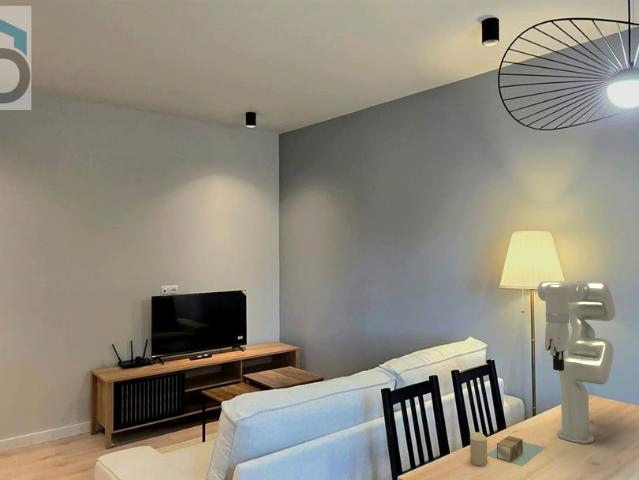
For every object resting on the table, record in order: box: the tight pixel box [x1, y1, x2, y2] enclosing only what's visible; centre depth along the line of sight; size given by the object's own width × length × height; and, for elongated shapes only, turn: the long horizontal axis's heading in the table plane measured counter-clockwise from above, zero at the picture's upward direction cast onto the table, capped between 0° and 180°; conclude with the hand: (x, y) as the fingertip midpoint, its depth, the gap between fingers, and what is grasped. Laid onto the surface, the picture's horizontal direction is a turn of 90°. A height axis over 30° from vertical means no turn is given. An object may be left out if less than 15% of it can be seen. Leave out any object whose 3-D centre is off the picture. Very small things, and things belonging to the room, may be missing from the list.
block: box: [496, 435, 524, 463], centre depth 172 cm, size 5×5×10 cm
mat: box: [487, 441, 546, 467], centre depth 176 cm, size 21×13×1 cm, turn 136°
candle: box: [469, 431, 488, 467], centre depth 168 cm, size 6×6×10 cm
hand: (558, 369), depth 174 cm, fingers closed
